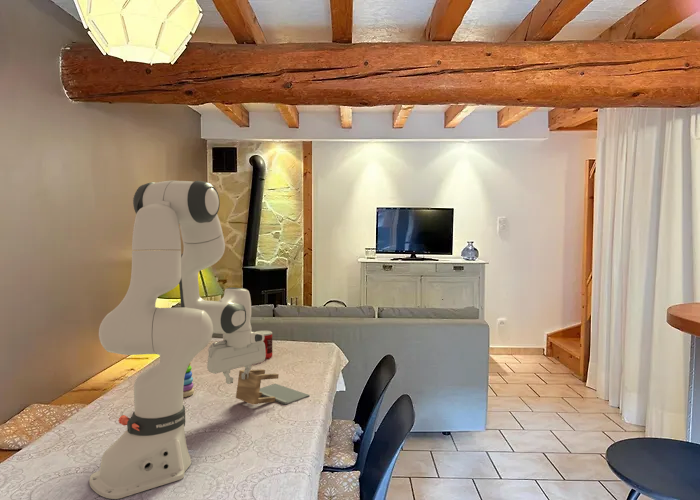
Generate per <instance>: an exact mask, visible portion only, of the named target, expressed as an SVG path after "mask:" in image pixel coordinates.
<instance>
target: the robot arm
mask: <svg viewBox="0 0 700 500" xmlns="http://www.w3.org/2000/svg"><path fill="white" fill-rule="evenodd" d="M220 202H221V201H220V196H219V192H218V190H217V189H216V187H215V186H213V184H212V183H210V182H208V181H202V180H195V181H190V180H189V181H188V180H165V181H158V182H157V181H156V182H154V181H152V182H148V183H144V184H142V185H140V186H138V187H137V189H136V191H135V193H134V195H133V198H132V204H133V209H134V210H133V211H134V212H135V217H134V218H135V219H134V224H133V229H132V241H131V272H130V273H131V275H130V282H129V286H128V289H127V291H126V293H125V295H124V297H123V299H122V300H121V301H120V303H119V304H118V305H117V306H115V308H114V309H112V310H111V311H110V312H108V313H107V314H106V315H105V316H104V317H103V319H102V320H101V322H100V324H99V328H98V339H99V342H100V344H101V346H102V348H103V349H104V350H105V351H106V352H108V353H112V354H117V355H118V354H119V355H124V356H139V355H158V356H159V362H157V364H155V365H153V366H151V367H149V368H147V369H144V371H142V372H141V373H140V374H139V375H138V376H137V377H136V378H135V381H134V383H133V403H134V406H133V407H134V409H133V410H134V411H133V412H132V415H131V416H130V417H128V416H127V415H126V414H124V415H120V417H118V419H117V420H118V423H119V424H121V425H122V426H125V427H126V430H125V431H124V432H123V433H122V435H120V437H118V438H117V439H116V440H115V441H114V442H113V443H112V444H111V445H110V446H109V447H108V448H107V449H106V450H105V451H104V452H103V455H102V456H101V461H100V467H99V470H97V471H96V472H93V473H92V474H91V475H90V476H89V482H88V483H89V484H88V485H89V487H90V488H91V489H92V490H93V492H94V493H96V494H97V495H99V496H101V497H103V498H105V499H111V500H120V499H122V498H126V497H129V496H132V495H135V494H138V493H142V492H145V491H148V490H150V489H155V488H157V487H160V486H163V485H167V484H171V483H174V482H176V481H181V480H182V479H184V477H185V475H186V471H187V470H188V469H189V468H190V466H191V464H192V458H191V455H190V453H189V449H188V445H187V438H186V433H185V427H186V406H185V405H184V397H183V386H184V377H185V373H186V370H187V368H188V366H189V364H190V362H191V363H192V360H193V359H194V358H195V357H196V356H197V355H198V354H199V353H200V352H202V351H203V350H204V349H205V348H206V347H208V345H209V343H210V342H211V340H212V337H213V334H219V335H220V334H222V340H220V341H217V342H213V343H212V344H211V345H210V346H209V347H208V354H207V356H208V357H207V362H206V364H207V365H206V368H207V371H208V372H209V373H210V374H214V375H215V374H216V375H217V374H220V373H222V374H223V376H224V377H225V382H226V383H225V384H227V385H231V384H233V383H234V377H232V376H231V375H230V374H231V371H232V370H237V369H239V368H243V367H244V369H243V370H244V373H242V374H241V376H242V379H244V380H245V379H248V374H249V372H250V370H252V365H255V364H259V363H263V362H264V361H265V360H266V359H265V356H266V352H265V343H264V342H263V340H264V335H263V334H260V333H257V332H256V331H253V330H252V325H251V319H252V300H251V294H250V291H249V290H248V289H247V288H244V287H243V288H241V287H227V288H225V290H224V292H223V293H224V294H223V296H222V298H220V299H219V300H206V299H204V298H202V297H201V296H200V286H199V273H200V271H202V270H206V269H208V268H209V267H212V266H213V265H215V264H216V263H218V262H219V261H220V260H221V259H222V257H223V255H224V254H225V250H226V242H225V237H224V232H223V228H222V224H221V221H220V218H219V215H218V213H219V210H220V204H221V203H220ZM181 239H182V240H181ZM182 245H183V251H182ZM178 286H179V296H180V306H179V307H156V302H157V299H158V297H160V296H162V295H164V294H167V293H168V292H170V291H172V290H173V289H175V288H176V287H178ZM190 365H191V364H190Z"/></svg>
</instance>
